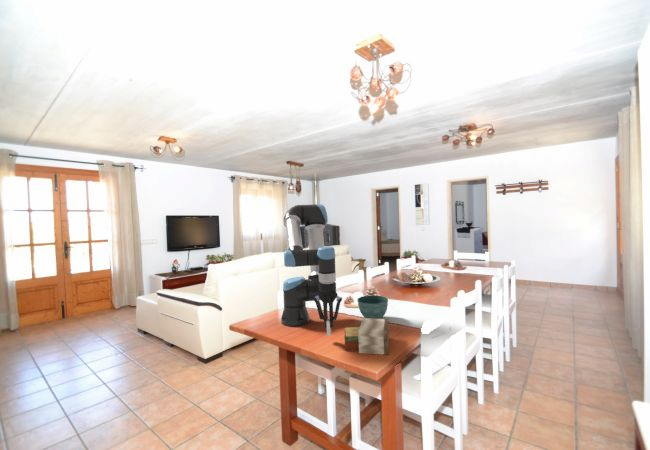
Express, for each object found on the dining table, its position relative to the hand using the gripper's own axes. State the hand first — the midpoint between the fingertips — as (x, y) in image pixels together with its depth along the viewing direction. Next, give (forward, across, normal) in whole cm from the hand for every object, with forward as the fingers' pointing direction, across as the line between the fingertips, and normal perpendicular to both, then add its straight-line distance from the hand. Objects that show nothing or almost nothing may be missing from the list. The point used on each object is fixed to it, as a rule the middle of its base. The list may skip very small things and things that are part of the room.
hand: (329, 334), depth 133 cm
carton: (+4, +11, +1) cm, 12 cm away
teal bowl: (+4, +17, +32) cm, 36 cm away
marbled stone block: (+3, +19, -1) cm, 19 cm away
